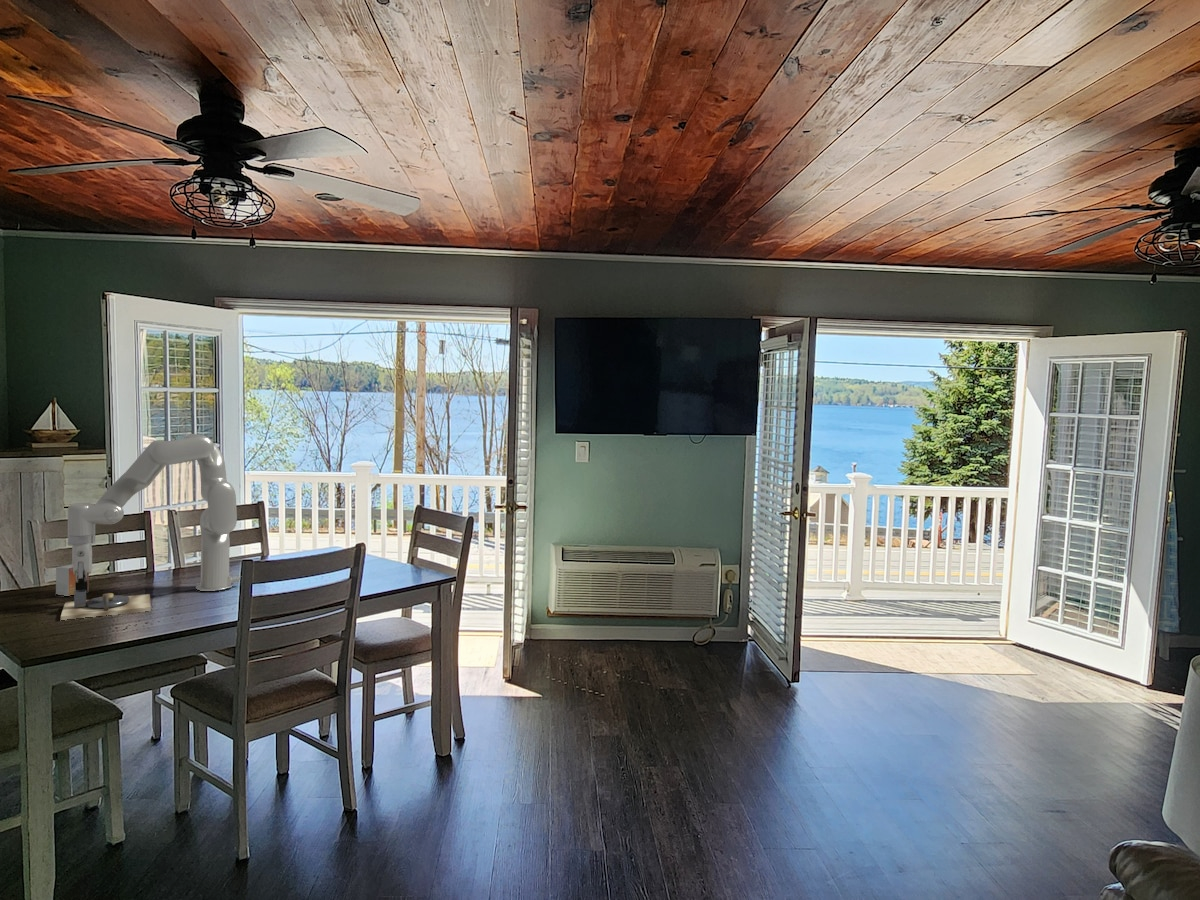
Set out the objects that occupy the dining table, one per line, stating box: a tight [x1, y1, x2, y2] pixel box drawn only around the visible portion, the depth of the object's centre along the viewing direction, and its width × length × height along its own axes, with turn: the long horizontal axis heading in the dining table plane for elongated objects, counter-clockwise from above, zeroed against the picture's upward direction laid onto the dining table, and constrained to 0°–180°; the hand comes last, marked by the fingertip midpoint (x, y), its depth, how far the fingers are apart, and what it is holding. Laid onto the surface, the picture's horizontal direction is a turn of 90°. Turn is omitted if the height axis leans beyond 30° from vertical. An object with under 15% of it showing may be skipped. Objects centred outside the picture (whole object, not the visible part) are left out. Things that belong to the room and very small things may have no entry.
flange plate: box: [73, 589, 129, 608], centre depth 231 cm, size 15×12×5 cm
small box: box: [55, 563, 90, 597], centre depth 247 cm, size 8×6×10 cm
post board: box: [60, 592, 152, 621], centre depth 232 cm, size 24×18×6 cm
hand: (81, 592), depth 233 cm, fingers closed
